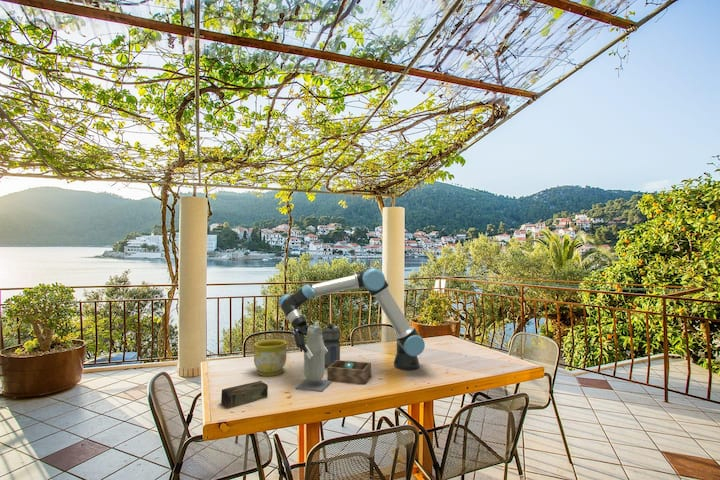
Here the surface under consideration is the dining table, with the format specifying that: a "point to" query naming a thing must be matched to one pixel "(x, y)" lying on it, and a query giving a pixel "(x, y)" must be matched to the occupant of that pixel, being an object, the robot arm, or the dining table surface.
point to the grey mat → (314, 385)
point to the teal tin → (349, 365)
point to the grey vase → (314, 354)
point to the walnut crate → (349, 372)
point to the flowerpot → (270, 356)
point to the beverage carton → (243, 394)
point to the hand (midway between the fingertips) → (318, 354)
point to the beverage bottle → (331, 344)
